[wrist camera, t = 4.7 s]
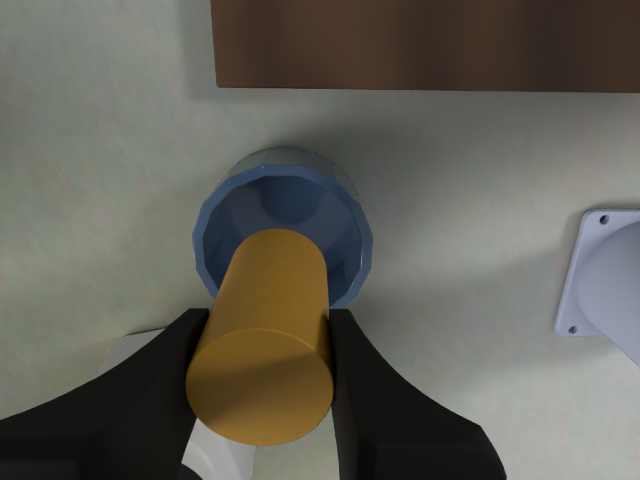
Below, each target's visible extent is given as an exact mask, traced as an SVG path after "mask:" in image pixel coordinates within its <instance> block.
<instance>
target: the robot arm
mask: <svg viewBox="0 0 640 480" xmlns="http://www.w3.org/2000/svg"><path fill="white" fill-rule="evenodd" d="M604 215H605V218H604V220H603V221H601V222H600V218H601V217H602V216H604ZM208 317H209V309H201V308H190V309H188V310H187V311H186V312H184V313H183V314H182V315H181V316H180V317H179V318H177V319H176V320H175V321H174V322H173V323H172V324H170V325H169V326H168V327H167V328H166V329H164V330H163V331H162V332H161V333H160V334H158V335H157V336H156V337H155V338H154V339H152V340H151V341H150V342H148V343H147V344H146V345H144V346H143V347H142V348H140V349H139V350H138V351H136V352H135V353H134V354H132V355H131V356H130V357H128V358H127V359H125V360H124V361H122V362H121V363H119V364H118V365H116V366H115V367H113V368H112V369H110V370H108V371H107V372H105V373H103V374H102V375H100V376H98V377H97V378H95V379H93V380H91V381H89V382H87V383H85V384H83V385H81V386H80V387H78V388H76V389H74V390H72V391H70V392H68V393H66V394H64V395H62V396H60V397H57V398H55V399H53V400H51V401H49V402H46V403H44V404H41V405H39V406H37V407H34V408H32V409H29V410H27V411H24V412H22V413H19V414H16V415H13V416H10V417H8V418H5V419H2V420H0V480H177V478H178V474H179V470H180V466H181V462H182V459H183V456H184V453H185V450H186V447H187V444H188V441H189V439H190V436H191V433H192V431H193V428H194V425H195V422H196V420H197V416H196V415H195V414H194V412H193V410H192V408H191V407H190V404H189V402H188V399H187V395H186V389H185V379H186V373H187V370H188V366H189V364H190V362H191V359H192V357H193V354H194V352H195V349H196V347H197V344H198V342H199V339H200V337H201V334H202V332H203V329H204V327H205V324H206V322H207V319H208ZM572 326H574V327H573V328H572V329H570V328H571V327H572ZM569 329H570V330H569ZM554 331H555V332H556V333H557V334H558V335H559V336H606V337H607V338H608V339H609V340H610V341H612V342H613V343H614V344H615V345H616V346H617V347H618V348H619V349H620V350H621V351H622V352H623V353H624V354H625V355H626V356H627V357H628V358H630V359H631V360H632V361H633V362H634V363H635V364H636V365H637V366H638V367H639V368H640V209H590V210H588V211H587V212H586V213H585V214H584V215H583V217H582V221H581V225H580V229H579V232H578V236H577V240H576V244H575V248H574V251H573V255H572V259H571V263H570V267H569V270H568V274H567V278H566V282H565V286H564V289H563V293H562V297H561V301H560V305H559V308H558V312H557V316H556V320H555V324H554ZM329 335H330V345H331V354H332V362H333V377H334V397H333V401H332V404H331V409H332V416H333V423H334V429H335V436H336V443H337V450H338V459H339V475H340V480H506V479H507V476H506V473H505V470H504V467H503V465H502V462H501V460H500V458H499V456H498V454H497V452H496V450H495V448H494V447H493V445H492V443H491V442H490V440H489V439H488V437H487V435H486V434H485V432H484V431H483V429H482V427H481V426H480V425H478V424H476V423H474V422H472V421H470V420H468V419H466V418H464V417H462V416H460V415H458V414H456V413H454V412H452V411H450V410H448V409H447V408H445V407H443V406H442V405H440V404H439V403H437V402H435V401H434V400H432V399H431V398H429V397H428V396H426V395H425V394H423V393H422V392H421V391H419V390H418V389H417V388H415V387H414V386H413V385H411V384H410V383H409V382H408V381H406V380H405V379H404V378H403V377H402V376H401V375H400V374H399V373H397V372H396V371H395V370H394V369H393V368H392V367H391V366H390V365H389V364H388V362H387V361H386V360H385V359H384V358H383V357H382V356H381V355H380V354H379V352H378V351H377V350H376V349H375V347H374V346H373V345H372V344H371V342H370V341H369V340H368V338H367V337H366V336H365V334H364V333H363V331H362V330H361V328H360V327H359V325H358V324H357V322H356V321H355V319H354V317H353V315H352V313H351V312H350V311H349V310H348V309H329Z"/></svg>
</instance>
